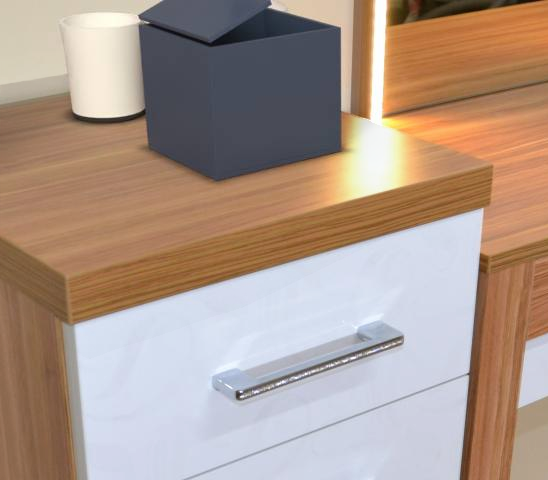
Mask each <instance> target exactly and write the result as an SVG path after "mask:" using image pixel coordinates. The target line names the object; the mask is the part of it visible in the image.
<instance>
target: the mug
mask: <svg viewBox="0 0 548 480" xmlns="http://www.w3.org/2000/svg"><path fill="white" fill-rule="evenodd" d="M138 15H139V14H134V13H129V12H128V13H127V12H119V11H98V12H96V11H93V12H84V13H78V14H72V15H68V16H65V17H62V18H60V19H59V20H58V26H59V30H60V36H61V40H62V45H63V50H64V51H63V52H64V58H65V66H66V72H67V73H66V74H67V80H68V88H69V95H70V103H71V109H72V110H71V111H72V115H73V116H74V118H75V119H77V120H80V121H82V122H89V123H98V124H99V123H101V124H104V123H105V124H106V123H107V124H109V123H120V122H126V121H127V122H128V121H131V120H134V119H137V118H141V117H142V116H143V115H144V113H146V112H145V100H144V87H143V75H142V63H141V51H140V38H139V26H138V25H139V24H146V23H149V22H145V21H142V20H140V19H139V17H138Z"/></svg>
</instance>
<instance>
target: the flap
mask: <svg viewBox="0 0 548 480" xmlns="http://www.w3.org/2000/svg"><path fill="white" fill-rule="evenodd" d="M271 5H272V3H271V0H161V1H159V2H158V3H156V4H155V5H152V6H151V7H149V8H148V9H146V10H144V11H142V12H140V13H138V14H137V15H138V17H139V19H140V20H142V21H145V22H149V23H152V24H155V25H158V26H161V27H164V28H167V29H170V30H173V31H176V32H179V33H182V34H185V35H188V36H191V37H194V38H197V39H200V40H203V41H206V42H209V43H211V42H213V41H214V40H216V39H217V38H219V37H221V36H222V35H224V34H225V33H227V32H229V31H230V30H232V29H233V28H235V27H237V26H238V25H240V24H242V23H243V22H245V21H246V20H248V19H250V18H251V17H253V16H254V15H256V14H258V13H259V12H261V11H263V10H264V9H266V8H267V7H269V6H271Z"/></svg>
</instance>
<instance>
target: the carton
mask: <svg viewBox="0 0 548 480" xmlns="http://www.w3.org/2000/svg"><path fill="white" fill-rule="evenodd" d="M138 26H139V38H140V51H141V63H142V75H143V87H144V100H145V112H144V113H145V124H146V134H147V135H146V136H147V147H148V149H150V150H152V151H154V152H157V153H158V154H160V155H162V156H164V157H166V158H168V159H170V160H173V161H174V162H177V163H178V164H181V165H183V166H185V167H186V168H189V169H191V170H193V171H196V172H197V173H199V174H202V175H203V176H206V177H208V178H210V179H212V180H214V181H216V182H218V181H222V180H226V179H229V178H235V177H239V176H243V175H246V174H252V173H256V172H260V171H263V170H268V169H272V168H275V167H280V166H284V165H288V164H292V163H297V162H301V161H307V160H310V159H314V158H318V157H323V156H326V155H331V154H334V153H339V152H342V27H341V26H337V25H334V24H330V23H326V22H322V21H318V20H316V19H312V18H308V17H304V16H301V15H297V14H294V13H289V12H288V13H286V12H283V11H279V10H275V9H272V8H268V7H267V8H266V9H264V10H263V11H261V12H259V13H258V14H256V15H254V16H253V17H251V18H250V19H248V20H246V21H245V22H243V23H242V24H240V25H238V26H237V27H235V28H233V29H232V30H230V31H229V32H227V33H225V34H224V35H222V36H221V37H219V38H217V39H216V40H214V41H213V42H211V43H209V42H206V41H203V40H200V39H197V38H194V37H191V36H188V35H185V34H182V33H179V32H176V31H173V30H170V29H167V28H164V27H161V26H158V25H155V24H152V23H146V24H139V25H138Z"/></svg>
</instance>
